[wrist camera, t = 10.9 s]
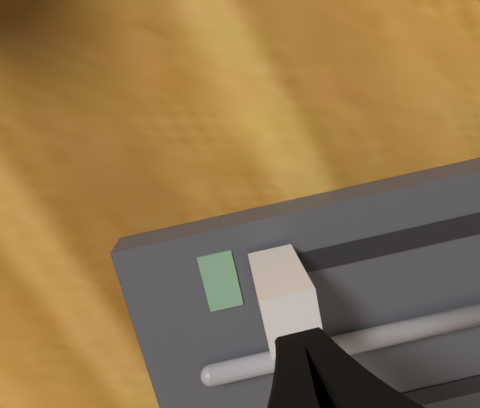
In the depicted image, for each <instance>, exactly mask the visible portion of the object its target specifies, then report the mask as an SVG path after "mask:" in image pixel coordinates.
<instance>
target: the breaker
mask: <svg viewBox="0 0 480 408" xmlns="http://www.w3.org/2000/svg"><path fill="white" fill-rule="evenodd" d="M248 258H249V262H250V267H251V271H252V276H253V280H254V285H255V290H256V294H257V299H258V303H259V307H260V311H261V316H262V320H263V324H264V329H265V333H266V337H267V341H268V346H269V350H270V354H271V358H272V360H275V358H276V348H275V340H276V339H277V337H280V336H284V335H288V334H292V333H296V332H301V331H305V330H309V329H313V328H317V327H319V328H321V329H322V323H321V317H320V312H319V306H318V300H317V295H316V289H315V287H314V285H313V283H312V282H311V280H310V278H309V276H308V274H307V272H306V271H305V269H304V267H303V265H302V263H301V261H300V260H299V258H298V256H297V254H296V252H295V250H294V249H293V247H292V245H291V244H289V245H284V246H280V247H276V248H271V249H267V250H262V251H258V252H253V253H249V254H248ZM322 330H323V329H322Z"/></svg>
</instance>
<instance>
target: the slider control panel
mask: <svg viewBox="0 0 480 408" xmlns="http://www.w3.org/2000/svg"><path fill="white" fill-rule="evenodd" d="M289 244H291V245H292V247H293V249H294V250H295V252H296V254H297V256H298V258H299V260H300V261H301V263H302V265H303V267H304V269H305V271H306V272H307V274H308V276H309V278H310V280H311V282H312V283H313V285H314V287H315V289H316V295H317V300H318V306H319V312H320V317H321V323H322V329H323V330H324V332H325V333H326V334H327V335H328V336H329V337H330V338H331V339H332V340H333V341H334V342H335V343H337V344H338V345H339V346H340V347H341V348H342V349H343V350H344V351H345V352H346V353H348V354H349V355H350V356H351V357H352V358H354V359H355V360H356V361H357V362H358V363H360V364H361V365H362V366H363V367H365V368H366V369H367V370H368V371H370V372H371V373H372V374H374V375H375V376H376V377H378V378H379V379H381V380H382V381H383V382H385V383H386V384H388V385H389V386H391V387H392V388H394V389H395V390H397V391H398V392H400V393H401V394H403V395H404V396H406V397H408V398H409V399H411V400H413V401H414V402H416V403H418V404H419V405H421V406H423V407H425V408H480V158H477V159H473V160H468V161H464V162H459V163H455V164H450V165H446V166H441V167H437V168H432V169H428V170H423V171H419V172H414V173H410V174H406V175H401V176H397V177H392V178H388V179H383V180H379V181H374V182H370V183H365V184H361V185H356V186H352V187H347V188H343V189H338V190H334V191H329V192H325V193H321V194H316V195H312V196H307V197H303V198H298V199H294V200H289V201H285V202H280V203H276V204H271V205H267V206H262V207H258V208H253V209H249V210H244V211H240V212H236V213H231V214H227V215H222V216H218V217H213V218H209V219H204V220H200V221H195V222H191V223H186V224H182V225H177V226H173V227H168V228H164V229H159V230H155V231H151V232H146V233H142V234H137V235H133V236H128V237H124V238H120V239H119V240H118V242H117V244H116V245H115V247H114V248H113V250H112V251H111V253H110V254H111V257H112V261H113V264H114V267H115V270H116V273H117V276H118V279H119V282H120V285H121V289H122V292H123V295H124V298H125V301H126V304H127V307H128V310H129V314H130V317H131V320H132V323H133V326H134V329H135V332H136V335H137V339H138V342H139V345H140V348H141V351H142V354H143V357H144V360H145V363H146V367H147V370H148V373H149V376H150V379H151V382H152V385H153V388H154V392H155V395H156V398H157V401H158V404H159V407H160V408H267V405H268V401H269V397H270V393H271V388H272V382H273V376H274V369H275V360H272V358H271V354H270V350H269V346H268V341H267V337H266V333H265V329H264V324H263V320H262V316H261V311H260V307H259V303H258V299H257V294H256V290H255V285H254V280H253V276H252V271H251V267H250V262H249V258H248V254H249V253H253V252H258V251H262V250H267V249H271V248H276V247H280V246H284V245H289Z"/></svg>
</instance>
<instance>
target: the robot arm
mask: <svg viewBox="0 0 480 408" xmlns="http://www.w3.org/2000/svg"><path fill="white" fill-rule="evenodd" d="M275 348H276V358H275V369H274V376H273V382H272V388H271V393H270V397H269V401H268V405H267V408H425V407H423V406H421V405H419V404H418V403H416V402H414V401H413V400H411V399H409V398H408V397H406V396H404V395H403V394H401V393H400V392H398V391H397V390H395V389H394V388H392V387H391V386H389V385H388V384H386V383H385V382H383V381H382V380H381V379H379V378H378V377H376V376H375V375H374V374H372V373H371V372H370V371H368V370H367V369H366V368H365V367H363V366H362V365H361V364H360V363H358V362H357V361H356V360H355V359H354V358H352V357H351V356H350V355H349V354H348V353H346V352H345V351H344V350H343V349H342V348H341V347H340V346H339V345H338V344H337V343H335V342H334V341H333V340H332V339H331V338H330V337H329V336H328V335H327V334H326V333H325V332H324V330H322V329H321V328H319V327H317V328H313V329H309V330H305V331H301V332H296V333H292V334H288V335H284V336H280V337H277V339H276V340H275Z"/></svg>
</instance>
